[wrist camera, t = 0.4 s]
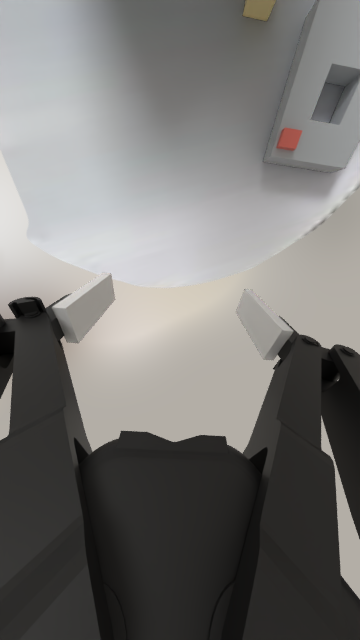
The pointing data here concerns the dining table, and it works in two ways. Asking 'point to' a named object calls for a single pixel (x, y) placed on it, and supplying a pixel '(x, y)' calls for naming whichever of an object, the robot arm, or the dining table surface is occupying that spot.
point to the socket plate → (305, 88)
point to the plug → (258, 9)
